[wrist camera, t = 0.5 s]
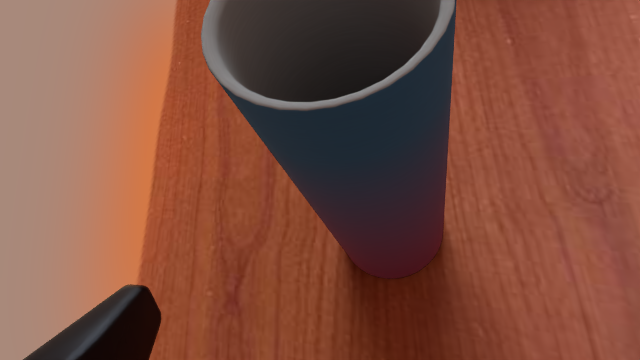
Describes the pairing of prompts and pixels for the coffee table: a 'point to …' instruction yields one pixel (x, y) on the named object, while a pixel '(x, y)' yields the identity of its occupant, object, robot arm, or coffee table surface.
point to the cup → (348, 112)
